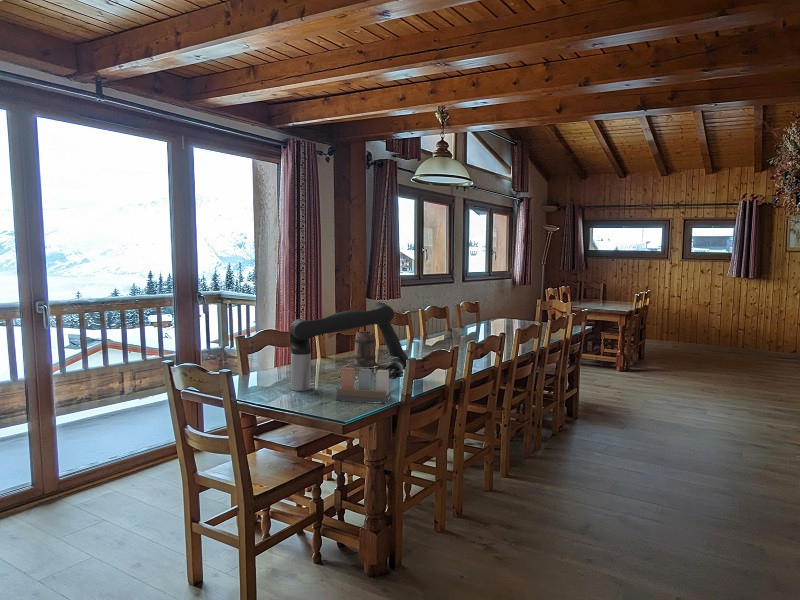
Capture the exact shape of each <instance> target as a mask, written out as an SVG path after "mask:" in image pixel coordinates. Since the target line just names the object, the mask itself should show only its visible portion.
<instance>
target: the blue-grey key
mask: <svg viewBox="0 0 800 600" xmlns="http://www.w3.org/2000/svg"><path fill="white" fill-rule="evenodd" d="M358 370H359V371H358V389H363V390H372V385H373V384H372V380H373V378H372V376H373V375H372V374H373V370H372V369H358Z"/></svg>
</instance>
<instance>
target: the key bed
mask: <svg viewBox="0 0 800 600" xmlns="http://www.w3.org/2000/svg"><path fill="white" fill-rule="evenodd" d="M335 396H336V397H335V400H336V401H338V400H343V401H342V402H351V401H361V402H360V403H363V402H381V403H385V402H386V401H387V400H388V398H389V397H390V398H391V392H389V393H388V395H387V396H386V391H377V390H376V389H375V390H374V389H371V390H363V389H359V388H354V389H349V388H341V387H337V389H336V395H335ZM390 398H389V399H390ZM388 401H389V400H388ZM388 401H387V402H388ZM387 402H386V403H387ZM386 403H385V404H386Z"/></svg>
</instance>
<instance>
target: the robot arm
mask: <svg viewBox="0 0 800 600" xmlns="http://www.w3.org/2000/svg"><path fill="white" fill-rule="evenodd" d="M394 318H395V311H394V309H393V308H392V307H391V306H390V305H388V304H387V303H385V302H382V301H381V302H380V301H379V302H376V303H374V304H373V306H372V308H371V310H366V311H365V310H345V311H341V312H336V313H333V314H331V315H328V316H326V317H322V318H320V319H314V320H313V319H312V320H306V319H303V318H298V319H295V320H293V321H292V322H291V324H290V329H289V347H290V357H291V358H290V390H291V391H296V392H304V391H309V390H311V374H312V373H311V371H312V370H311V369H312V364H311V363H312V360H311V359H312V357H311V356H312V355H311V354H312V347H311V345H310V339H312V338H315V337H318V336H322V335H324V334H333V333H339V332H344V331H345V332H346V331H349V330H353V329H359V328H362V327H366V326H372V325H374V326H375V325H378V327H379V329H380V331H381V334H382V336H383V338H384V342H385V344H386V347H387V351H388V353H389V355H390V357H393V358H392V359H391V360H390V363H389V364H388V365H387V366H386V367H385V369H384V370H389V380H391V379H392V380H396V379H398V378H403V377H404V371H405V367H406V360H407V359H408V358H409V356H408V355H407V354H406V352H405V350H403V347H402V343H401V342H400V339H399V336H398V334H397V333H396V331H395V330H394V328H393V325H392V323H391V321H393V319H394Z"/></svg>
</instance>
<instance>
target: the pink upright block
mask: <svg viewBox="0 0 800 600" xmlns="http://www.w3.org/2000/svg"><path fill="white" fill-rule="evenodd" d="M355 371H356V368H352V367H343V368H342V370H341V384H340V385H341V387H340V388H349V389H355V385H356V384H355V381H356V380H355V378H356V377H355V374H356V372H355Z"/></svg>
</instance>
